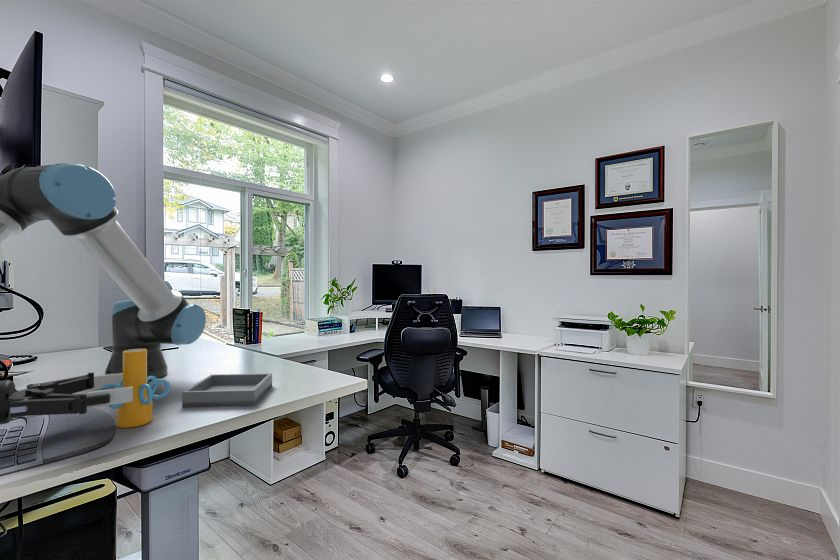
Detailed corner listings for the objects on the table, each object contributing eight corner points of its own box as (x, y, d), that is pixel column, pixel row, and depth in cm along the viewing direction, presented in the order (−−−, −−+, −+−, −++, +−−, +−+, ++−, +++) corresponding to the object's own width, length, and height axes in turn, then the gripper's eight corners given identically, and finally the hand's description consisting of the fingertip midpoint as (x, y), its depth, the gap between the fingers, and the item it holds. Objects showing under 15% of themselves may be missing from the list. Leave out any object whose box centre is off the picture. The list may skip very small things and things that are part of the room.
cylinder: (172, 410, 88) (172, 344, 87) (167, 426, 78) (167, 352, 78) (103, 419, 82) (103, 348, 82) (89, 437, 73) (90, 357, 72)
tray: (211, 387, 105) (211, 374, 105) (272, 386, 107) (272, 373, 107) (182, 407, 90) (182, 392, 90) (254, 405, 91) (254, 390, 91)
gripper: (-1, 406, 77) (132, 389, 89) (-48, 454, 57) (132, 422, 69) (-1, 369, 77) (132, 356, 89) (-48, 403, 57) (132, 380, 69)
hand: (133, 385), depth 79 cm, fingers open, 13 cm apart
